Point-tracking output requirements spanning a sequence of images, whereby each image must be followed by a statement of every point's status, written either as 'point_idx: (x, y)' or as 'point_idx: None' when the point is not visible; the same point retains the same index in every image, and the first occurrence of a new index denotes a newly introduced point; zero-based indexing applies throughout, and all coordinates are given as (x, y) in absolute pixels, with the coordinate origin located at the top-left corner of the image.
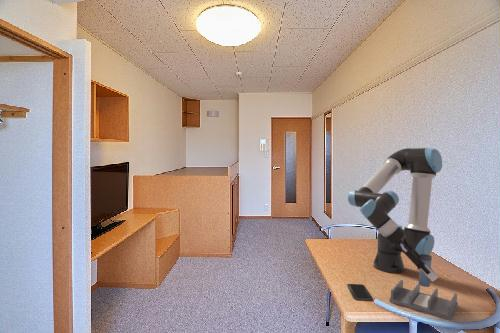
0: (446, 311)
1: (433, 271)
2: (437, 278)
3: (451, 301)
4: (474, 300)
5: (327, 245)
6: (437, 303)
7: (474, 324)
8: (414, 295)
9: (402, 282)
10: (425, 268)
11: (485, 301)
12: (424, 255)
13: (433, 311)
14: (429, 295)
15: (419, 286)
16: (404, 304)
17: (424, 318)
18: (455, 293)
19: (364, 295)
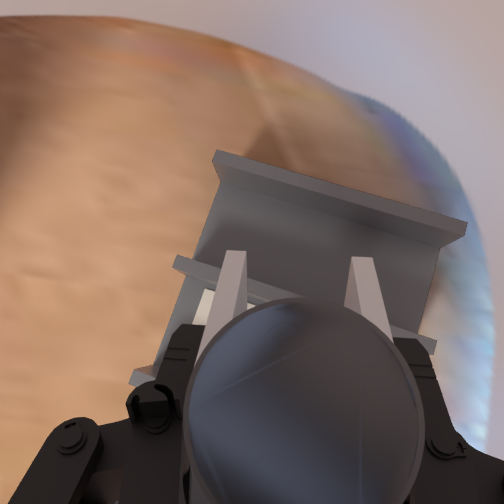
0: (388, 248)
1: (241, 281)
2: (370, 264)
3: (370, 204)
4: (117, 83)
5: None
6: (292, 280)
7: (424, 138)
8: None
9: None
10: (444, 408)
11: (111, 37)
12: (292, 446)
13: (420, 320)
14: (184, 309)
15: (152, 374)
16: None
17: (484, 376)
18: (218, 158)
19: None
